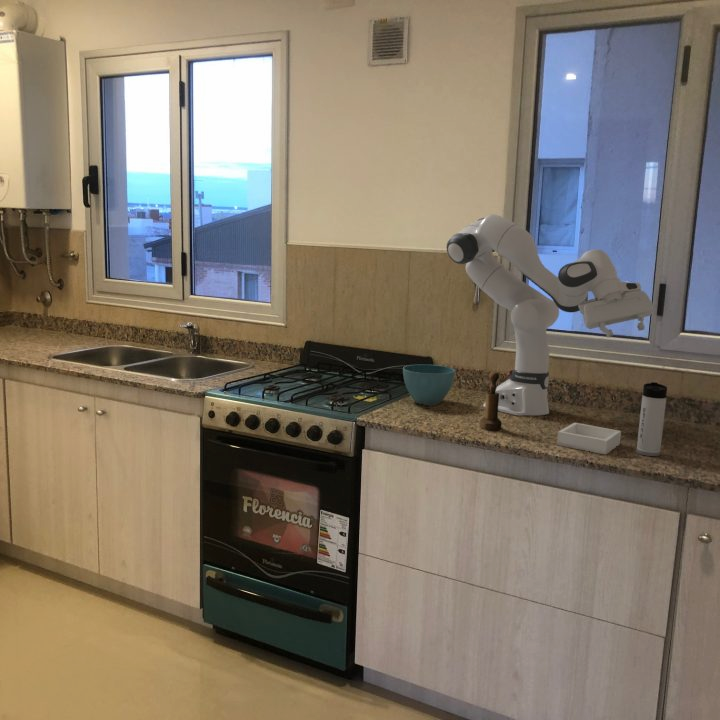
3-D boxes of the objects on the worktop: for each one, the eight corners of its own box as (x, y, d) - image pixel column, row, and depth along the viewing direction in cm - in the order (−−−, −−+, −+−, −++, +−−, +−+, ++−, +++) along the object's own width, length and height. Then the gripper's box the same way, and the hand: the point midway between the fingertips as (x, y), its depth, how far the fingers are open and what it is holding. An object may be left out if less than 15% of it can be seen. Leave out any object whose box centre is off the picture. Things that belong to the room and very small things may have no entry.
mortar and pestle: (475, 427, 231) (479, 370, 228) (487, 424, 235) (491, 368, 232) (493, 431, 226) (497, 374, 223) (505, 428, 231) (509, 371, 228)
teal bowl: (390, 400, 262) (392, 366, 260) (425, 394, 274) (427, 362, 272) (428, 411, 249) (430, 375, 247) (463, 404, 261) (465, 370, 259)
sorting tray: (556, 444, 215) (558, 431, 214) (573, 435, 226) (574, 422, 225) (605, 454, 207) (606, 440, 206) (619, 444, 218) (621, 431, 217)
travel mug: (658, 451, 212) (666, 383, 209) (661, 457, 206) (669, 387, 202) (635, 448, 214) (642, 381, 210) (637, 455, 207) (644, 385, 204)
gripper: (577, 296, 223) (593, 334, 216) (644, 282, 222) (662, 319, 216) (575, 308, 229) (590, 345, 222) (640, 293, 228) (657, 330, 221)
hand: (626, 332), depth 219 cm, fingers open, 8 cm apart
